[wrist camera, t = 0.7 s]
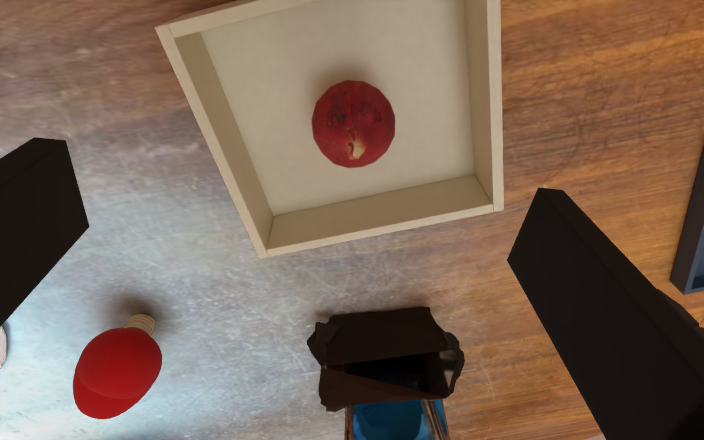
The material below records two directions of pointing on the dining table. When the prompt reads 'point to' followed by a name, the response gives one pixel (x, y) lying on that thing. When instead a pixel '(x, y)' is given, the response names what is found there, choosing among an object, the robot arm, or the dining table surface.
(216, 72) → the beige open rectangular box
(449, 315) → the dining table surface
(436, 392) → the lantern
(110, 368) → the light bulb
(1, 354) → the plate
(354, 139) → the onion
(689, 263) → the tray
